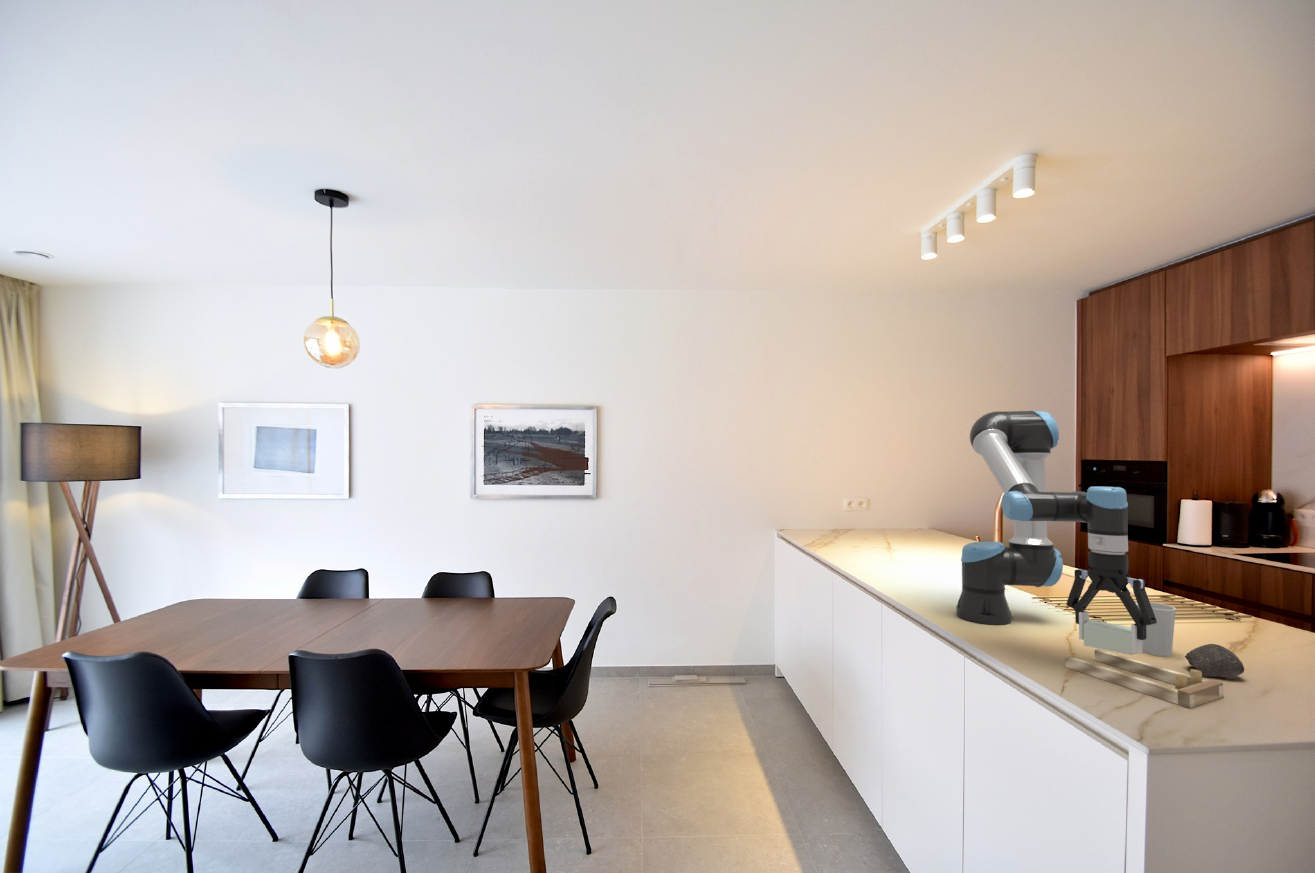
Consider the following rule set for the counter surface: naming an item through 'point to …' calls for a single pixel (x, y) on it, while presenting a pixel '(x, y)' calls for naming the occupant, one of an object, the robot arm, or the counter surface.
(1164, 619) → the cup
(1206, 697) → the wooden u-shaped frame
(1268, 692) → the counter surface
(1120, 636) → the block
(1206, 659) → the stone
